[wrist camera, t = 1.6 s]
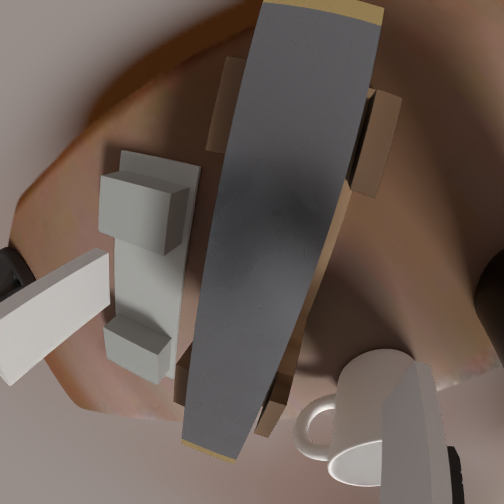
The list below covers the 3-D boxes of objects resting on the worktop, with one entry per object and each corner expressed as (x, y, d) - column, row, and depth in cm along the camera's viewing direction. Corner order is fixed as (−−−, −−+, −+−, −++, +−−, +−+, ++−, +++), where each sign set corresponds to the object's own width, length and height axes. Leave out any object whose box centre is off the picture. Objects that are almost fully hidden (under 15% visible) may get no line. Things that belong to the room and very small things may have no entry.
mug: (310, 412, 29) (294, 490, 20) (292, 359, 27) (266, 447, 18) (418, 395, 25) (428, 477, 16) (417, 336, 23) (440, 427, 13)
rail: (249, 424, 20) (233, 464, 17) (202, 406, 21) (181, 443, 17) (372, 42, 10) (384, 8, 6) (286, 23, 11) (267, -15, 7)
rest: (120, 350, 34) (105, 366, 31) (124, 150, 24) (98, 153, 21) (174, 377, 33) (161, 396, 30) (201, 166, 23) (180, 171, 20)
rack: (221, 336, 28) (172, 416, 19) (283, 69, 18) (238, 14, 9) (288, 360, 27) (260, 449, 18) (376, 93, 17) (411, 52, 8)
